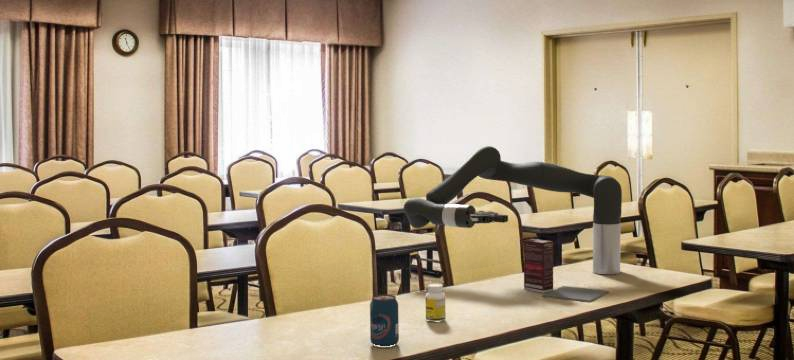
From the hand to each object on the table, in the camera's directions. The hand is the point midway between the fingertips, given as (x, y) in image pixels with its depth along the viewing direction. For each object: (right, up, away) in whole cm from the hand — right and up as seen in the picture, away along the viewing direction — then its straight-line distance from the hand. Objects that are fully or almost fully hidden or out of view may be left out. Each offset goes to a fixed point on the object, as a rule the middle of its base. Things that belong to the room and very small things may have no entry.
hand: (506, 218), depth 287 cm
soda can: (-38, -28, -66) cm, 81 cm away
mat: (+20, -23, -11) cm, 32 cm away
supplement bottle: (-24, -26, -42) cm, 55 cm away
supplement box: (+9, -22, -4) cm, 25 cm away
